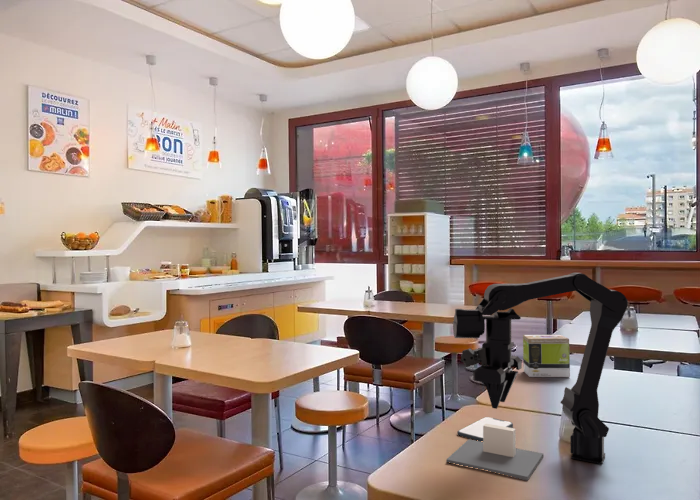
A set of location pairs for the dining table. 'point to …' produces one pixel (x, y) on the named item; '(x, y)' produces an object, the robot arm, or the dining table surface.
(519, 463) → the mat
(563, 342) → the tea box
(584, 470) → the dining table surface
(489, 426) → the block
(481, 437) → the phone case
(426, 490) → the dining table surface
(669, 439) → the dining table surface
